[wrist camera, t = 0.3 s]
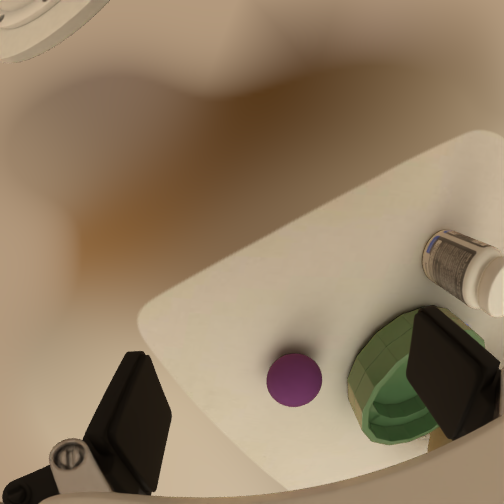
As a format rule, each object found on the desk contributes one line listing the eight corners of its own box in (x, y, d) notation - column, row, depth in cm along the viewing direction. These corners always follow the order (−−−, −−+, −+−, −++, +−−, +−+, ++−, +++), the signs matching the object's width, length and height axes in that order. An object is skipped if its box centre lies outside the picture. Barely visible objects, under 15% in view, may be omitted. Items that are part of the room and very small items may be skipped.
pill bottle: (429, 291, 23) (486, 336, 15) (414, 246, 22) (480, 283, 14) (465, 262, 23) (526, 297, 15) (453, 218, 22) (522, 243, 13)
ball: (284, 334, 24) (292, 367, 19) (325, 355, 24) (339, 387, 20) (254, 371, 25) (257, 407, 20) (295, 389, 25) (303, 423, 21)
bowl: (410, 279, 23) (442, 303, 18) (475, 334, 25) (502, 357, 20) (317, 392, 26) (330, 430, 21) (400, 421, 28) (416, 450, 23)
